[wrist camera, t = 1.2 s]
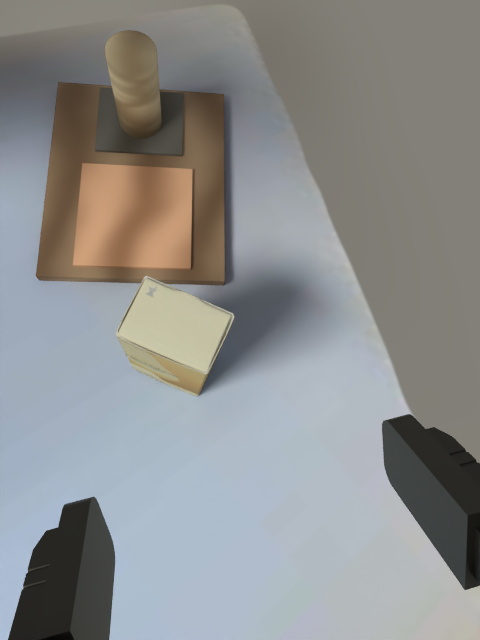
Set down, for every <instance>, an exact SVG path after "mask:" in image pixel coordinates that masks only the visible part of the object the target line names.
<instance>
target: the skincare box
mask: <svg viewBox="0 0 480 640" xmlns="http://www.w3.org/2000/svg"><path fill="white" fill-rule="evenodd" d="M233 320H234V315H233V313H231V312H229V311H226V310H224V309H222V308H220V307H218V306H215V305H213V304H211V303H209V302H206V301H204V300H202V299H200V298H197V297H195V296H193V295H191V294H188V293H186V292H183V291H181V290H179V289H176V288H174V287H172V286H170V285H167V284H165V283H162V282H160V281H158V280H155V279H153V278H151V277H149V276H145V277H144V279H143V281H142V283H141V284H140V286H139V288H138V290H137V292H136V293H135V295H134V297H133V299H132V301H131V303H130V305H129V307H128V309H127V310H126V312H125V314H124V316H123V318H122V320H121V323H120V325H119V327H118V329H117V331H116V336H117V337H118V339H119V341H120V343H121V345H122V347H123V349H124V351H125V353H126V355H127V357H128V359H129V361H130V363H131V365H132V367H133V368H134V369H135V370H137V371H139V372H141V373H143V374H145V375H147V376H149V377H151V378H154V379H156V380H158V381H160V382H163V383H165V384H167V385H169V386H172V387H174V388H177V389H179V390H182V391H184V392H187V393H189V394H192V395H194V396H198V395H199V394H200V392H201V390H202V387H203V385H204V383H205V381H206V379H207V377H208V375H209V373H210V370H211V368H212V366H213V364H214V362H215V360H216V357H217V355H218V353H219V351H220V349H221V347H222V344H223V342H224V340H225V338H226V336H227V334H228V331H229V329H230V327H231V325H232V322H233Z"/></svg>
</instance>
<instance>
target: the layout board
mask: <svg viewBox="0 0 480 640" xmlns="http://www.w3.org/2000/svg"><path fill="white" fill-rule="evenodd" d="M105 55H106V60H107V65H108V70H109V75H110V79H111V84H112V86H104V85H90V84H76V83H62V82H58V90H57V99H56V107H55V116H54V125H53V133H52V142H51V151H50V159H49V168H48V177H47V185H46V194H45V202H44V211H43V220H42V228H41V237H40V246H39V254H38V263H37V272H36V277H37V278H38V279H39V280H43V281H81V282H119V283H142V281H143V279H144V277H145V276H149V277H151V278H153V279H155V280H158V281H160V282H162V283H165V284H196V285H224V282H225V241H224V94H215V93H201V92H187V91H173V90H160V89H159V76H158V63H157V50H156V46H155V44H154V42H153V41H152V40H151V39H150V38H149V37H148V36H147V35H145V34H143V33H141V32H138V31H131V30H128V31H121V32H118V33H116V34H114V35H113V36H111V37H110V38H109V39H108V41H107V43H106V45H105Z"/></svg>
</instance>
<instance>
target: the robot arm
mask: <svg viewBox="0 0 480 640" xmlns="http://www.w3.org/2000/svg"><path fill="white" fill-rule="evenodd" d="M382 434H383V452H384V466H385V470H386V474H387V476H388V479H389V481H390V483H391V485H392V487H393V488H394V489H395V491H396V492H397V494H398V495H399V497H400V498H401V499H402V501H403V502H404V504H405V505H406V507H407V508H408V509H409V511H410V512H411V514H412V515H413V517H414V518H415V519H416V521H417V522H418V524H419V525H420V527H421V528H422V529H423V531H424V532H425V534H426V535H427V537H428V538H429V539H430V541H431V542H432V544H433V545H434V547H435V548H436V549H437V551H438V552H439V554H440V555H441V557H442V558H443V559H444V561H445V562H446V564H447V565H448V567H449V568H450V569H451V571H452V572H453V574H454V575H455V577H456V578H457V579H458V581H459V582H460V584H461V585H462V587H463V588H464V589H465V590H467V589H470V588H473V587H477V586H480V463H477V462H476V459H474V457H473V456H472V455H471V454H469V453H468V452H466V451H465V449H464V448H463V447H462V446H461V445H460V444H459V443H458V442H457V441H456V440H455V439H454V438H453V437H452V436H450V435H448V434H446V433H444V432H442V431H440V430H438V429H436V428H434V427H433V428H429V429H425V428H424V427H423V426H422V425H421V424H420V423H419V422H418V421H417V420H416V419H415V418H414V417H413V416H412V415H410V414H408V415H404V416H400V417H396V418H393V419H389V420H385V421H383V423H382ZM114 570H115V552H114V545H113V541H112V538H111V535H110V532H109V530H108V527H107V525H106V522H105V519H104V517H103V514H102V512H101V509H100V507H99V504H98V502H97V500H96V498H95V497H91V498H87V499H83V500H80V501H76V502H72V503H68V504H65V505H64V507H63V509H62V513H61V518H60V522H59V527H58V528H55V529H51V530H47V531H46V532H45V533H44V535H43V536H42V538H41V539H40V541H39V542H38V544H37V545H36V546H35V548H34V549H33V552H32V556H31V559H30V563H29V567H28V573H27V574H26V577H25V581H24V584H23V587H24V589H23V590H22V592H21V595H20V599H19V602H18V606H17V610H16V613H15V617H14V620H13V624H12V628H11V631H10V635H9V638H8V640H109V635H110V622H111V609H112V596H113V583H114Z"/></svg>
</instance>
